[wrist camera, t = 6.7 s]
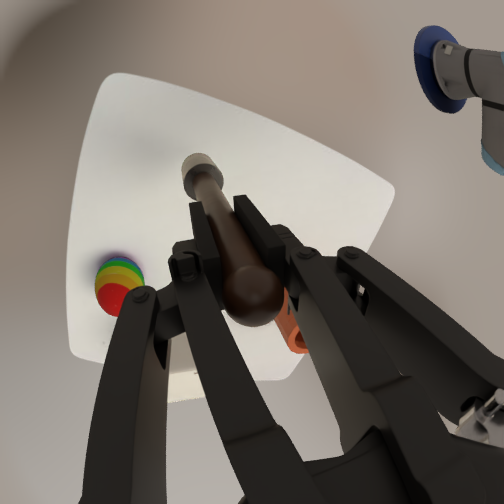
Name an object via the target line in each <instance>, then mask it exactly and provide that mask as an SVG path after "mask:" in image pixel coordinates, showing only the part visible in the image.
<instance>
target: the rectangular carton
mask: <svg viewBox="0 0 504 504" xmlns="http://www.w3.org/2000/svg"><path fill="white" fill-rule="evenodd" d="M171 339H172V345H171V356H170V368H169V382H168V399H167V403H170V402H176V401H183V400H189V399H196V398H202V397H206V396H205V393H204V390H203V387H202V384H201V381H200V378H199V375H198V372H197V369H196V366H195V363H194V359H193V356H192V353H191V349H190V346H189V343H188V339H187V336H186V332H184V333H182V334H180V335H177V336H175V337H173V338H171Z"/></svg>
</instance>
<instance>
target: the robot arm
mask: <svg viewBox="0 0 504 504" xmlns="http://www.w3.org/2000/svg"><path fill="white" fill-rule="evenodd" d="M430 66H431V72H432V75H433V78H434V81H435V83H436V85H437V87H438V89H439V90H440V92H441V93H442V94H443V95H444V96H445V97H447V98H449V99H454V100H460V99H465V98H470V97H480V98H482V139H481V145H482V153H481V154H482V158H483V160H484V162H485V163H486V164H487V165H488V166H489V167H490V168H491V169H492V170H494V171H495V172H497V173H498V174H500V175H504V52H497V51H490V50H480V49H469V48H466V47H464V46H461V45H459V44H456V43H453V42H451V41H448V40H438V41H436V42H435V43H434V44H433V45H432V48H431V51H430ZM233 200H234V213H235V214H236V216H237V218H238V219H239V221H240V223H241V225H242V226H243V228H244V230H245V231H246V233H247V235H248V236H249V238H250V240H251V241H252V243H253V245H254V247H255V248H256V250H257V252H258V253H259V255H260V257H261V258H262V260H263V262H264V264H265V265H266V267H267V268H268V269H270V270H272V271H273V272H274V273H275V274H276V275H277V276H278V277H279V279H280V280H281V283H282V285H283V288H284V287H285V288H286V290H287V292H288V306H287V315H290V310H292V313H293V315H294V318H295V320H296V322H297V325H298V327H299V330H300V332H301V334H302V337H303V339H304V342H305V344H306V346H307V349H308V351H309V354H310V356H311V358H312V361H313V363H314V365H315V368H316V371H317V373H318V375H319V378H320V380H321V383H322V385H323V388H324V390H325V392H326V395H327V398H328V400H329V402H330V405H331V407H332V410H333V412H334V415H335V417H336V420H337V422H338V425H339V428H340V442H341V446H342V449H343V452H344V455H342V456H339V457H333V458H327V459H320V460H313V461H305V462H303V460H302V459H301V457H300V455H299V453H298V452H297V450H296V448H295V446H294V444H293V443H292V441H291V439H290V437H289V436H288V434H287V433H286V431H285V430H284V429H283V427H282V426H280V425H278V424H277V423H276V422H275V420H274V419H273V417H272V415H271V413H270V411H269V409H268V407H267V405H266V403H265V401H264V400H263V398H262V396H261V394H260V392H259V390H258V388H257V386H256V384H255V382H254V380H253V378H252V376H251V374H250V372H249V370H248V368H247V366H246V363H245V361H244V359H243V357H242V355H241V353H240V351H239V349H238V347H237V345H236V343H235V340H234V338H233V336H232V334H231V332H230V330H229V327H228V325H227V323H226V321H225V319H224V316H223V314H222V312H221V310H225V308H224V306H223V303H222V289H223V285H222V281H223V278H222V270H221V262H220V256H219V253H218V250H217V247H216V244H215V241H214V238H213V235H212V232H211V229H210V226H209V223H208V220H207V217H206V214H205V211H204V208H203V205H202V201H198V202H192V203H189V208H190V215H191V222H192V229H193V235H194V239H191V240H185V241H180V242H176V243H175V244H174V246H173V247H172V252H173V255H171V256H170V258H169V259H168V265H169V269H170V273H171V277H172V282H171V283H170V284H169V285H167V286H166V287H164V288H162V289H160V290H158V291H156V290H155V289H154V288H153V287H151V286H138V287H135V288H133V289H131V290H130V291H129V292H128V293H127V294H126V295H125V297H124V300H123V303H122V306H121V309H120V312H119V315H118V318H117V321H116V325H115V328H114V331H113V334H112V338H111V341H110V345H109V348H108V352H107V355H106V359H105V363H104V367H103V371H102V375H101V379H100V383H99V387H98V392H97V396H96V401H95V406H94V411H93V416H92V421H91V427H90V433H89V439H88V446H87V452H86V460H85V468H84V479H83V490H82V491H83V492H82V497H81V499H80V501H79V503H78V504H167V496H166V421H167V399H168V382H169V368H170V356H171V345H172V339H171V338H173V337H175V336H177V335H180V334H182V333H184V332H186V336H187V339H188V343H189V346H190V349H191V353H192V356H193V359H194V363H195V366H196V369H197V372H198V375H199V378H200V381H201V384H202V387H203V390H204V393H205V396H206V399H207V402H208V405H209V408H210V411H211V413H212V416H213V419H214V422H215V424H216V427H217V429H218V432H219V435H220V437H221V440H222V442H223V445H224V448H225V450H226V453H227V455H228V458H229V460H230V463H231V465H232V467H233V470H234V472H235V474H236V477H237V479H238V481H239V483H240V485H241V488H242V490H243V492H244V494H245V495H244V497H242V499H241V500H240V501H239V503H238V504H504V359H502V358H500V357H498V356H496V355H494V354H493V353H492V352H490V351H489V350H488V349H487V348H486V347H485V346H484V345H483V344H481V343H480V342H479V341H478V340H477V339H476V338H475V337H474V336H472V335H471V334H470V333H469V332H468V331H467V330H465V329H464V328H463V327H462V326H461V325H459V324H458V323H457V322H456V321H455V320H454V319H452V318H451V317H450V316H449V315H447V314H446V313H445V312H444V311H442V310H441V309H440V308H439V307H438V306H436V305H435V304H434V303H433V302H431V301H430V300H429V299H427V298H426V297H425V296H424V295H422V294H421V293H420V292H418V291H417V290H416V289H415V288H413V287H412V286H411V285H409V284H408V283H407V282H405V281H404V280H403V279H401V278H400V277H399V276H397V275H396V274H395V273H393V272H392V271H391V270H389V269H388V268H386V267H385V266H384V265H382V264H381V263H380V262H378V261H377V260H375V259H374V258H372V257H371V256H370V255H368V254H367V253H365V252H364V251H363V250H361V249H359V248H356V247H353V246H346V247H342V248H340V249H339V250H338V251H337V256H322V255H321V254H320V253H319V251H317V250H316V249H314V248H312V247H306V246H304V245H303V244H302V243H301V242H300V241H299V240H298V239H297V237H295V235H294V234H293V233H292V232H291V231H290V230H289V229H288V228H287V227H285V226H283V225H281V224H278V225H272V226H270V224H269V223H268V222H267V221H266V219H265V218H264V217H263V216H262V214H261V213H260V212H259V211H258V209H257V208H256V207H255V206H254V205H253V203H252V202H251V201H250V200H249V198H248V197H247V196H246V195H239V196H233ZM360 285H361V286H362V287H364V288H365V290H364V293H363V294H362V293H360V292H359V288H360ZM400 373H401V374H402V375H401V374H400ZM437 411H438V412H439V413H440V414H441V415H442V416H444V417H445V418H446V419H448V420H449V421H451V422H452V423H454V424H456V425H458V427H457V429H456V431H455V435H454V434H451V433H449V432H448V430H447V428H446V426H445V424H444V423H443V421H442V419H441V417H440V415H439V414H438V412H437Z"/></svg>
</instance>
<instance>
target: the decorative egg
mask: <svg viewBox="0 0 504 504" xmlns="http://www.w3.org/2000/svg"><path fill="white" fill-rule="evenodd" d="M138 286H145V283H144V277H143V274H142V272H141V270H140V268H139V267H138V266H137V265H136V264H135V263H134V262H133V261H131V260H130V259H127V258H123V257H116V258H113V259H110V260H108V261H107V262H105V263H104V264H103V265H102V266H101V268H100V269H99V271H98V273H97V276H96V279H95V294H96V298H97V301H98V303H99V305H100V306H101V308H102V309H103V310H104V311H105V312H106V313H108V314H109V315H112V316H115V317H118V315H119V312H120V309H121V306H122V303H123V300H124V297H125V295H126V294H127V293H128V292H129V291H130V290H131V289H133V288H135V287H138Z"/></svg>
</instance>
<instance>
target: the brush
mask: <svg viewBox="0 0 504 504" xmlns="http://www.w3.org/2000/svg"><path fill="white" fill-rule="evenodd" d="M181 170H182V178H183V184H184V189H185V191H186V193H187V195H188V196H189V197H191V198H192V199H194V200H196V201H197V202H198V201H202V205H203V208H204V211H205V214H206V217H207V220H208V223H209V226H210V229H211V232H212V235H213V238H214V241H215V244H216V247H217V250H218V253H219V256H220V262H221V270H222V278H223V281H222V285H223V289H222V303H223V306H224V308H225V311H226V312H227V314H228V315H229V316H230V317H231V318H232V319H233V320H234V321H235V322H237V323H239V324H241V325H244V326H248V327H258V326H262V325H265V324H267V323H269V322H271V321H272V320H273V319H275V318H276V316H277V315H278V314H279V313H280V311H281V309H282V306H283V303H284V288H283V285H282V283H281V280H280V279H279V277H278V276H277V275H276V274H275V273H274V272H273V271H272V270H270V269H268V268H267V267H266V265H265V264H264V262H263V260H262V258H261V257H260V255H259V253H258V252H257V250H256V248H255V247H254V245H253V243H252V241H251V240H250V238H249V236H248V235H247V233H246V231H245V230H244V228H243V226H242V225H241V223H240V221H239V219H238V218H237V216H236V214H235V213H234V211H233V209H232V208H231V206H230V204H229V203H228V201H227V199H226V197H225V196H224V194H223V192H222V191H221V190H222V187H223V176H222V173H221V172H220V170H219V169H218V167H217V166H216V165H215V163H214V162H213V161H212V160H211V158H210V157H209V156H207V155H205V154H203V153H194V154H192V155H190V156H188V157H187V158H186V159H185V160H184V162H183V164H182V169H181Z"/></svg>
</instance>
